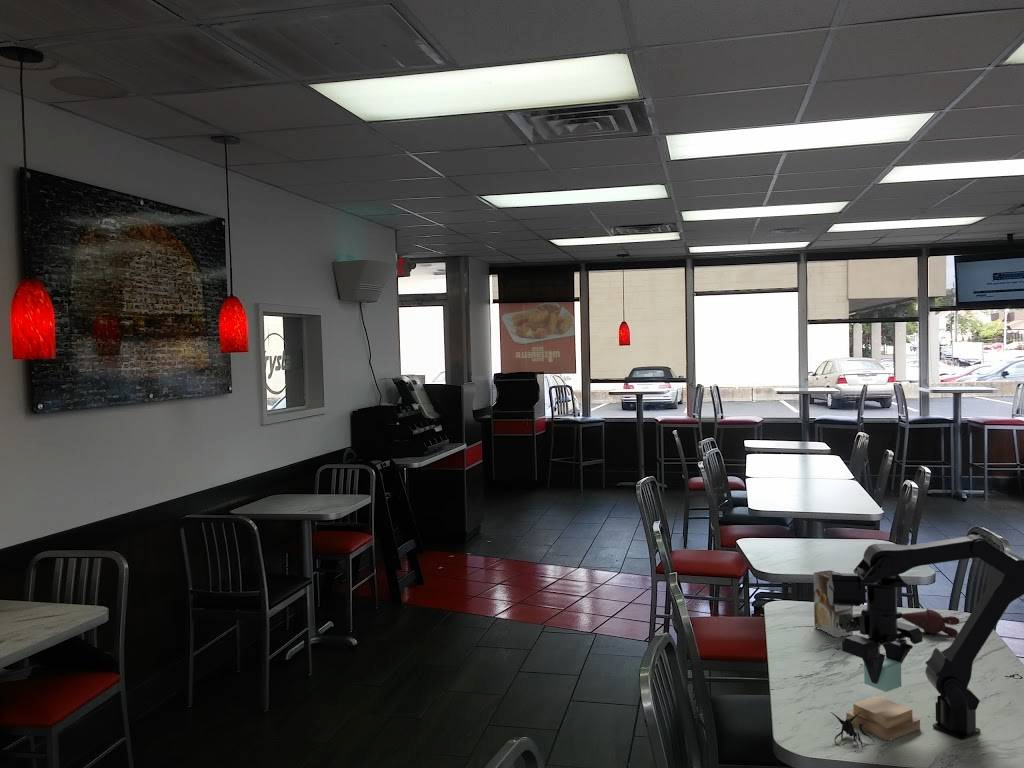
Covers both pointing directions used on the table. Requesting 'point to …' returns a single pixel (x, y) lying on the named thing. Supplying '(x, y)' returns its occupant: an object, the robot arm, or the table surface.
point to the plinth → (884, 730)
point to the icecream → (932, 622)
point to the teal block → (886, 676)
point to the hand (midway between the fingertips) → (882, 680)
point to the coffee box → (827, 607)
